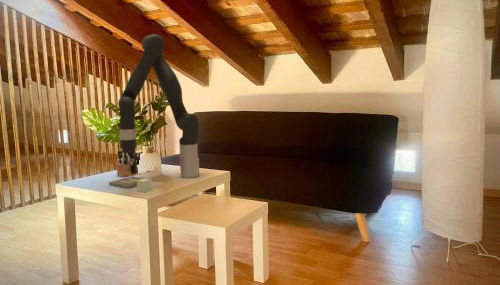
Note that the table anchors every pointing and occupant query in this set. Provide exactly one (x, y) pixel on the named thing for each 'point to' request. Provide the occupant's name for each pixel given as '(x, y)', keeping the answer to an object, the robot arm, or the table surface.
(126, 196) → the table surface
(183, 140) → the robot arm
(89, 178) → the table surface
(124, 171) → the walnut block
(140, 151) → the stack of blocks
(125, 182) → the base plate
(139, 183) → the sage block
